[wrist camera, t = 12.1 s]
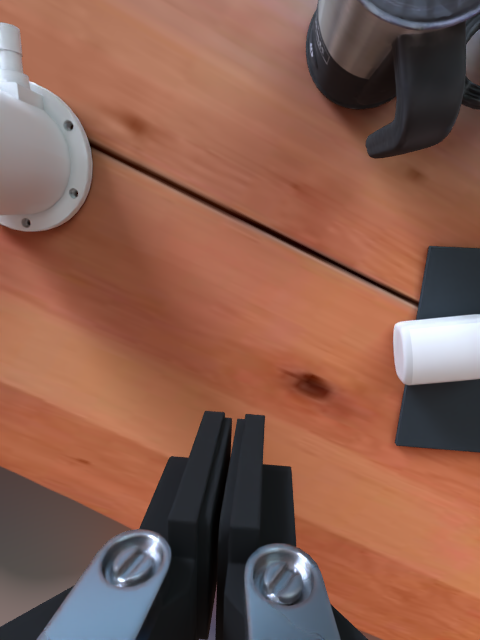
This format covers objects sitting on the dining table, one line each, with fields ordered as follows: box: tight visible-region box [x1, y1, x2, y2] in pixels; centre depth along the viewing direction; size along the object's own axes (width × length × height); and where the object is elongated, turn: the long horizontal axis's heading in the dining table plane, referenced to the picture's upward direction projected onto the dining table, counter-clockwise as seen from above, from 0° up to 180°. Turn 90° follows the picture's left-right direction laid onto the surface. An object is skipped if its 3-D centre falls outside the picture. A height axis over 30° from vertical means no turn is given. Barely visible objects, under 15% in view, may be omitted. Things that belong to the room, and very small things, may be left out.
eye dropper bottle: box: [393, 314, 480, 385], centre depth 34 cm, size 4×6×12 cm
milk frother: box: [306, 0, 480, 158], centre depth 24 cm, size 14×16×15 cm
